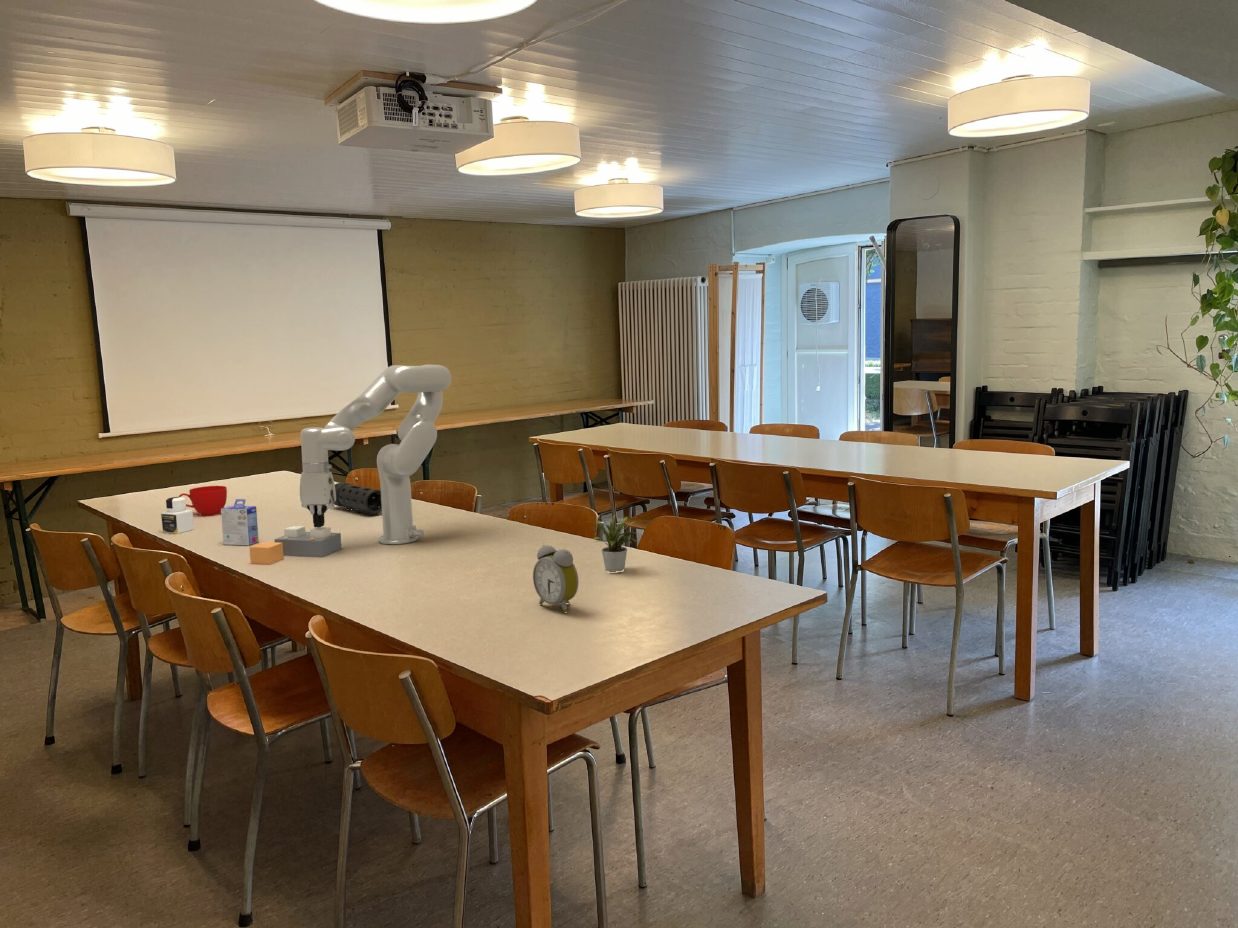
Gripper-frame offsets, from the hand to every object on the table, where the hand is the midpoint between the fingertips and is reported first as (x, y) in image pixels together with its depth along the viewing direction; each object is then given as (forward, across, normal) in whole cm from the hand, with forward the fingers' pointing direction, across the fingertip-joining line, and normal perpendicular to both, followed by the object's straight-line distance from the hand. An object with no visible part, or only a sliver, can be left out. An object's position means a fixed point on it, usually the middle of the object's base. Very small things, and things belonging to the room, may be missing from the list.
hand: (319, 526), depth 267 cm
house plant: (+8, -95, +7) cm, 95 cm away
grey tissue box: (+8, +4, 0) cm, 9 cm away
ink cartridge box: (+9, +33, -7) cm, 35 cm away
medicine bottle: (+9, +68, -20) cm, 72 cm away
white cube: (+5, +9, 0) cm, 10 cm away
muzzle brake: (+8, +22, -61) cm, 65 cm away
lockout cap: (+8, +10, +12) cm, 18 cm away
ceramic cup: (+9, +79, -47) cm, 92 cm away
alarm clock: (+8, -90, +40) cm, 99 cm away
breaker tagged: (+5, 0, 0) cm, 5 cm away
